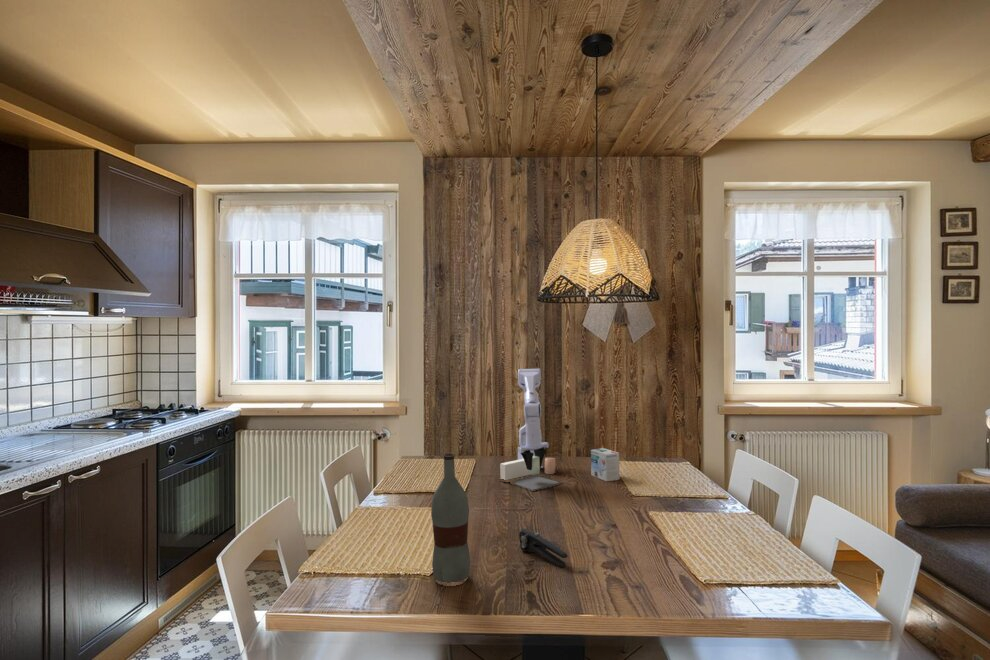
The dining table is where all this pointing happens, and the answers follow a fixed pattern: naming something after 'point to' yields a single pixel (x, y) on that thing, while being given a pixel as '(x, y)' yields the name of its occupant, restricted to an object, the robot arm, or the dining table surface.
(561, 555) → the can opener
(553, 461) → the terracotta part
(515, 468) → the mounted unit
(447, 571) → the bottle
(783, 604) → the dining table surface
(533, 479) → the pad
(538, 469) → the sage part
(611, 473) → the light bulb box
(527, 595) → the dining table surface
